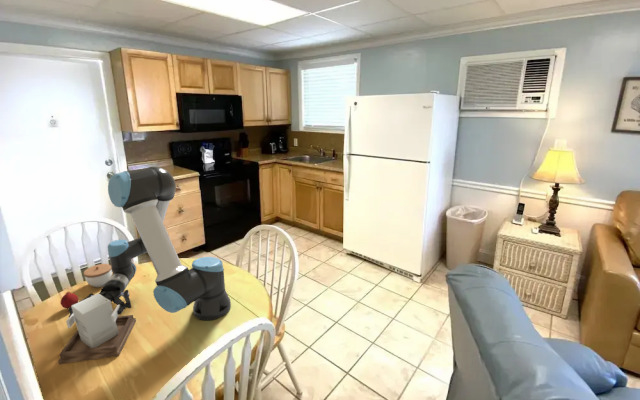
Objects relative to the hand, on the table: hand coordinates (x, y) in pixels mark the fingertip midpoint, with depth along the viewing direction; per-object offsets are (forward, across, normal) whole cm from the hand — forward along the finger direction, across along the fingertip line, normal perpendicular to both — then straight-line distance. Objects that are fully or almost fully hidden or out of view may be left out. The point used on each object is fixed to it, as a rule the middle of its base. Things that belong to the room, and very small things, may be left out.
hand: (90, 321), depth 108 cm
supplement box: (-3, 0, -10) cm, 10 cm away
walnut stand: (-3, 0, -11) cm, 11 cm away
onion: (-26, +20, -11) cm, 35 cm away
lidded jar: (-44, +16, -11) cm, 48 cm away
